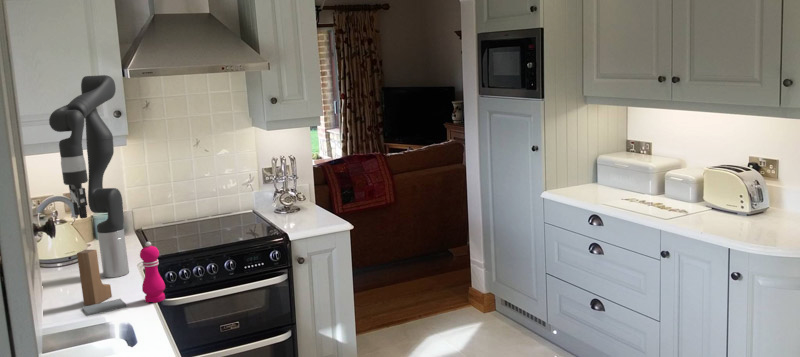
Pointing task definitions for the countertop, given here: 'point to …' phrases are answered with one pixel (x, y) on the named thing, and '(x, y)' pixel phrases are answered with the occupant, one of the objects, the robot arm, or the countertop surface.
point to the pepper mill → (152, 275)
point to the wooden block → (92, 278)
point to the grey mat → (104, 306)
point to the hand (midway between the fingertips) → (80, 216)
